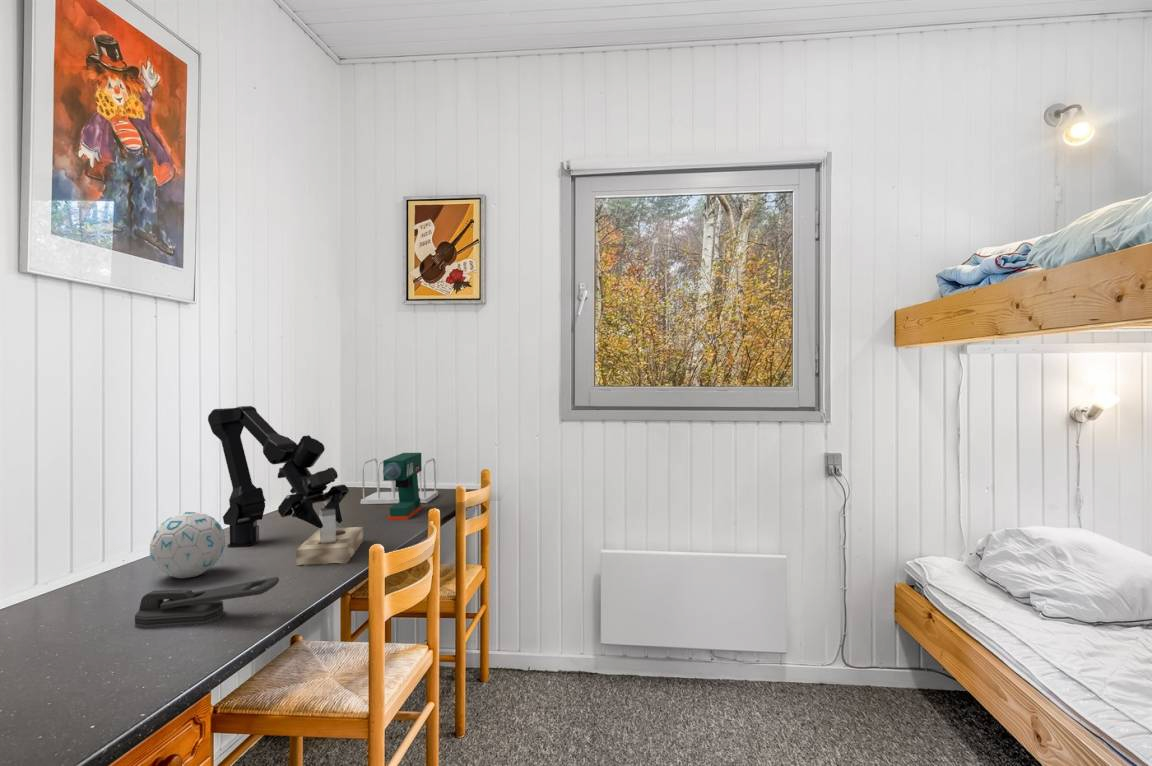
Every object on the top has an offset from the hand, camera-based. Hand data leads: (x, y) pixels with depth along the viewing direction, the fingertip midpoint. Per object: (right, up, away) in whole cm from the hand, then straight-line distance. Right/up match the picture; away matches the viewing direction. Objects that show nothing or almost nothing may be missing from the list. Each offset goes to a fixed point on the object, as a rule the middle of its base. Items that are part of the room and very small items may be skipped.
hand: (331, 524), depth 160 cm
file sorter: (-4, -9, +79) cm, 79 cm away
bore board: (-2, -8, +5) cm, 10 cm away
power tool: (+5, -9, +46) cm, 47 cm away
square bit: (-1, -9, +1) cm, 9 cm away
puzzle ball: (-28, -9, -14) cm, 33 cm away
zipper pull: (-8, -9, -40) cm, 42 cm away
